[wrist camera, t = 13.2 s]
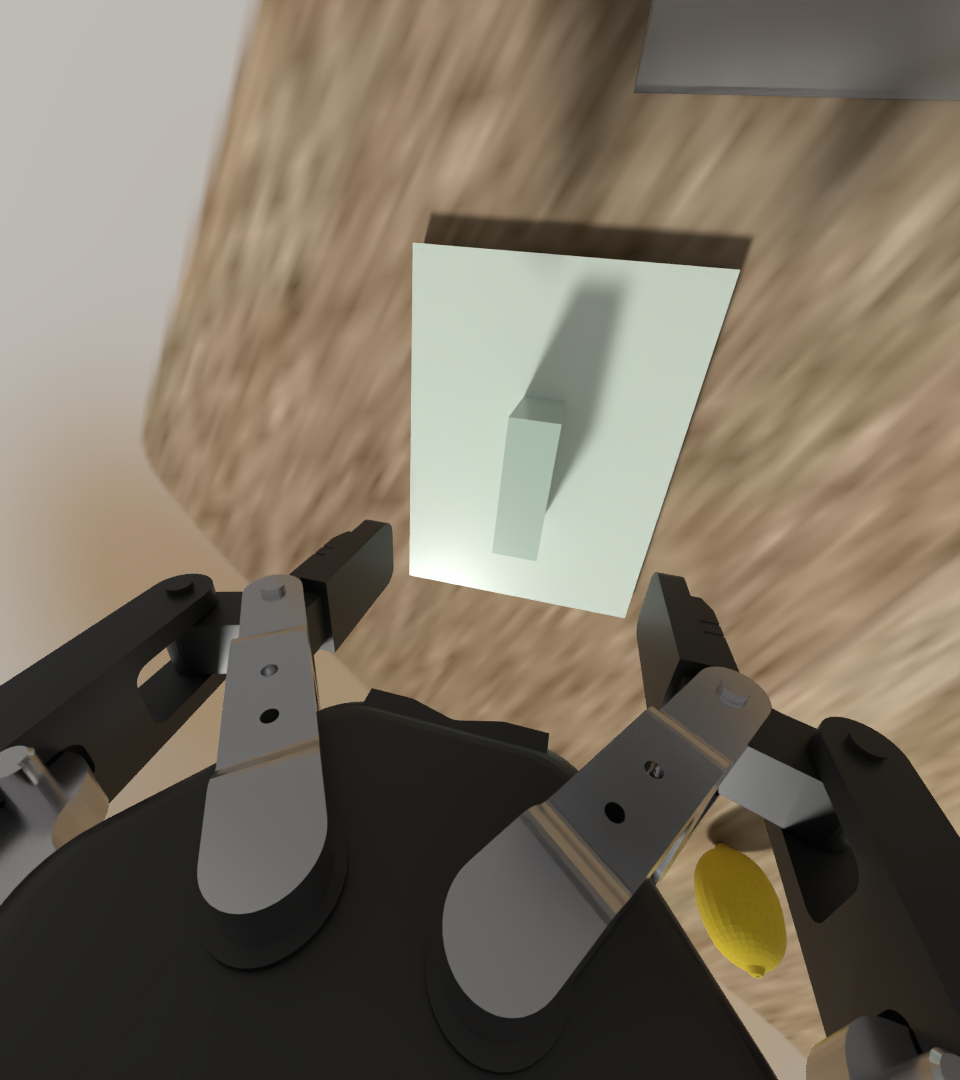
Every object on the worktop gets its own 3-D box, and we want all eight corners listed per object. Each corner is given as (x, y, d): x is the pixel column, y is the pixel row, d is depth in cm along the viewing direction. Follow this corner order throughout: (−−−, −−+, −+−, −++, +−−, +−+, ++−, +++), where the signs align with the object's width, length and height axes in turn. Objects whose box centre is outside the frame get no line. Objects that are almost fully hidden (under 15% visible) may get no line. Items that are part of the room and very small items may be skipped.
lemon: (720, 870, 36) (753, 1002, 29) (669, 838, 35) (691, 965, 28) (776, 849, 33) (828, 990, 26) (722, 815, 32) (761, 949, 26)
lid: (727, 273, 18) (798, 251, 12) (622, 602, 26) (634, 681, 20) (424, 248, 19) (360, 218, 14) (417, 562, 28) (376, 624, 22)
